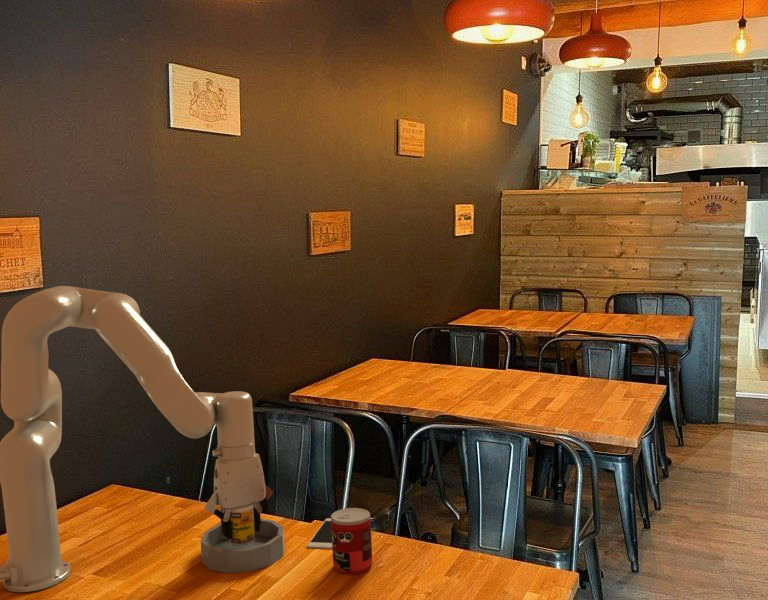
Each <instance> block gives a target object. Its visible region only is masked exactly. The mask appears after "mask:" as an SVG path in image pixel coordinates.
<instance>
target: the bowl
mask: <svg viewBox="0 0 768 600" xmlns="http://www.w3.org/2000/svg"><path fill="white" fill-rule="evenodd" d="M259 527H260V531H258V532H257V531H255V540H254V541H253V542H252V543H250V544H248V545H245V546H234V545H232V544H230V542H229V539H227V538H226V537H225V536H224V535H223V534H222V530H221V523H218V524H216V525H214V526H213V527H211V528H209V529H208V530H206V531H205V532H204V533H203V535H202V538H201V540H200V549H201V550H200V551H201V562H202V564H203V565H204V566H206V567H207V568H208V569H209V571H216V572H219V573H220V572H221V573H226V574H236V573H248V572H249V573H250V572H253V571H257V570H260V569H264V568H267V567H269V566H272V565H273V564H275V563H277V561H279V560H280V559H281V558H282V557H284V556H285V555H284V553H285V546H286V545H285V531H284V530H285V529H284V526H283V525H282V524H280V523H279V522H277V521H275V520H272V519H267V518H261V525H260V526H259Z"/></svg>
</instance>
